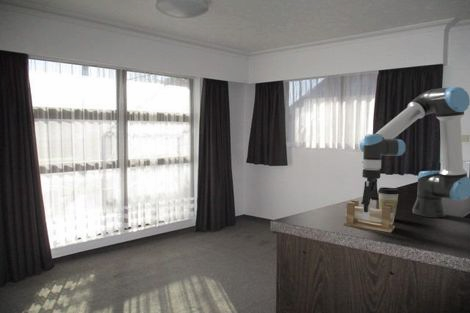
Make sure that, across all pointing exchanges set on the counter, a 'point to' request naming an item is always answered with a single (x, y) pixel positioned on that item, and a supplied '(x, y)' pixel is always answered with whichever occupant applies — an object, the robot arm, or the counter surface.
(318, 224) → the counter surface
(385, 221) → the wooden stand
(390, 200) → the coffee cup
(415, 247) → the counter surface
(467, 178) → the robot arm
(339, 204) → the counter surface
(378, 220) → the rail
